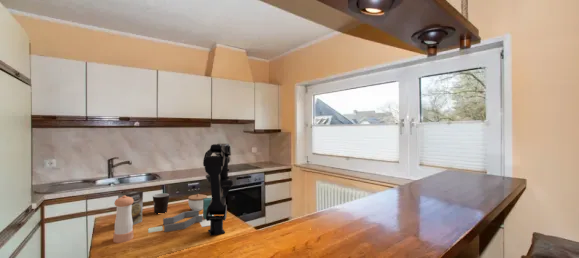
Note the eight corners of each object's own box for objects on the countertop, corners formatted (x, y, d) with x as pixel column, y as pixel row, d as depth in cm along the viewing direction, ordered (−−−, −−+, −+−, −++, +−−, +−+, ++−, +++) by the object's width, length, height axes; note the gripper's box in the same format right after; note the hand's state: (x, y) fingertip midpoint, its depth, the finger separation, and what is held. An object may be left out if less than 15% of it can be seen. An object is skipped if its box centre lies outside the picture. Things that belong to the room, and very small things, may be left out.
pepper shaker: (111, 239, 108) (112, 195, 108) (131, 234, 113) (132, 192, 113) (115, 245, 103) (116, 198, 103) (135, 240, 108) (136, 195, 108)
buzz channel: (219, 225, 128) (220, 217, 128) (148, 237, 112) (148, 229, 112) (211, 214, 144) (211, 207, 144) (148, 223, 128) (148, 216, 128)
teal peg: (211, 217, 136) (212, 199, 136) (204, 218, 134) (204, 200, 134) (210, 215, 139) (210, 197, 139) (202, 216, 137) (203, 198, 137)
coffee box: (126, 228, 120) (127, 195, 121) (116, 226, 122) (117, 193, 123) (142, 222, 129) (143, 191, 129) (133, 220, 131) (134, 189, 131)
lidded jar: (210, 207, 155) (210, 192, 155) (199, 213, 145) (199, 196, 145) (195, 206, 158) (195, 191, 158) (184, 211, 148) (184, 195, 148)
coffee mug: (154, 210, 147) (154, 193, 147) (170, 209, 150) (170, 192, 150) (149, 217, 136) (149, 199, 136) (166, 215, 139) (167, 197, 139)
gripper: (203, 165, 137) (203, 194, 137) (210, 170, 121) (210, 202, 121) (223, 164, 143) (223, 191, 142) (233, 169, 126) (232, 199, 126)
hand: (222, 196), depth 133 cm, fingers open, 9 cm apart
